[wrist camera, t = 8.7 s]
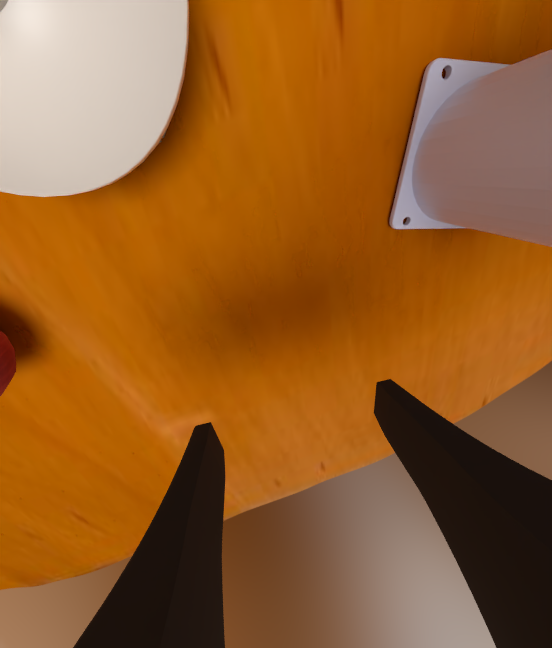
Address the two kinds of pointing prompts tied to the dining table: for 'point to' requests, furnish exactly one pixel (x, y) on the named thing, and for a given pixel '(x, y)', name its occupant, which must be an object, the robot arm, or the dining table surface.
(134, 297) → the dining table surface
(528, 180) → the robot arm
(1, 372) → the onion
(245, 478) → the dining table surface
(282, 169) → the dining table surface
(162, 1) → the lid
